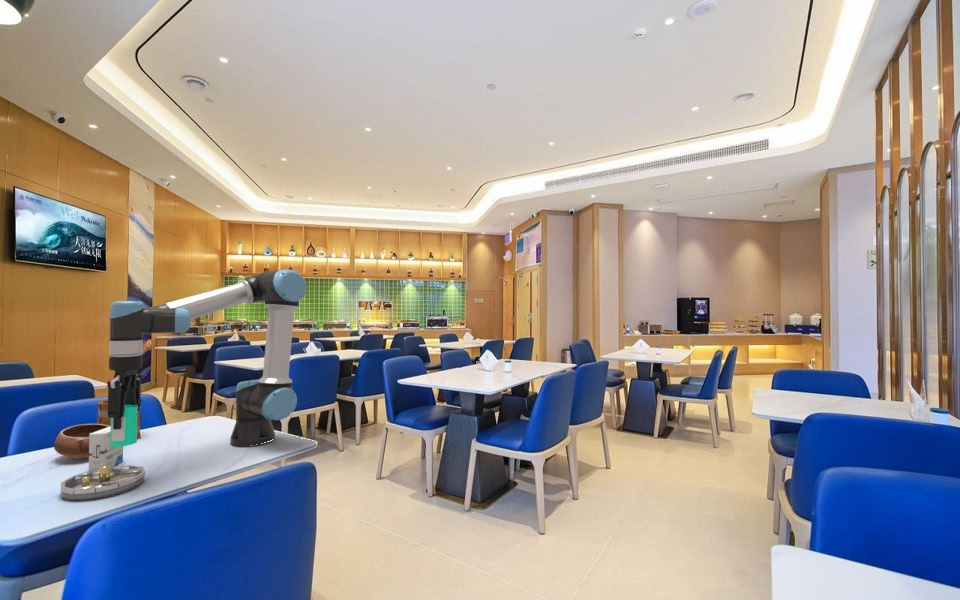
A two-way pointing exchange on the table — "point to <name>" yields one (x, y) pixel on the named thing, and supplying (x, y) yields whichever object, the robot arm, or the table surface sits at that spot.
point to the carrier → (102, 483)
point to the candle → (127, 427)
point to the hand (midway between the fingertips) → (124, 437)
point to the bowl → (76, 440)
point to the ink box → (103, 450)
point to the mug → (105, 420)
